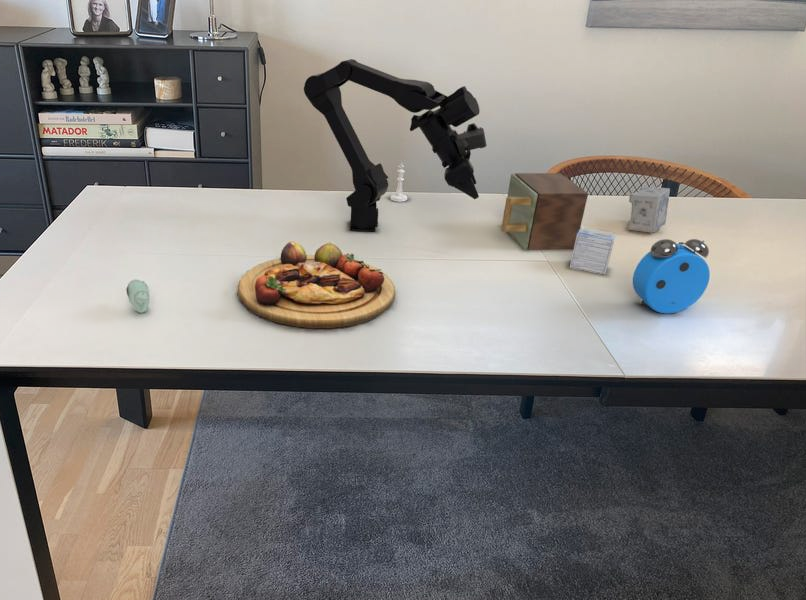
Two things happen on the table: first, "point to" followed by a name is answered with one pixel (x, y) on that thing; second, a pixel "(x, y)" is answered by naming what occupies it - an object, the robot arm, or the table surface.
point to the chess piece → (399, 187)
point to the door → (519, 211)
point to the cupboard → (555, 211)
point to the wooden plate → (316, 288)
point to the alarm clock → (672, 275)
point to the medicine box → (592, 250)
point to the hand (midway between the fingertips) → (475, 190)
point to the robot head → (138, 295)
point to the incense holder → (648, 209)
